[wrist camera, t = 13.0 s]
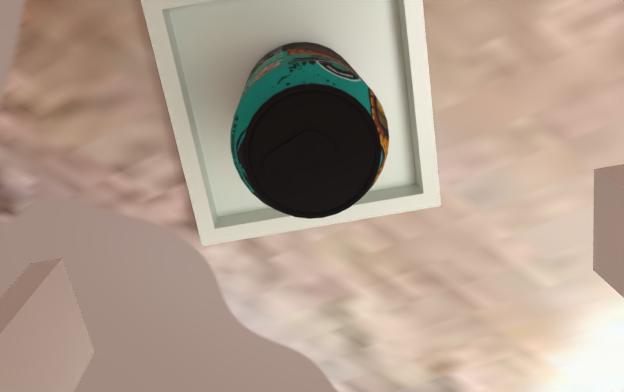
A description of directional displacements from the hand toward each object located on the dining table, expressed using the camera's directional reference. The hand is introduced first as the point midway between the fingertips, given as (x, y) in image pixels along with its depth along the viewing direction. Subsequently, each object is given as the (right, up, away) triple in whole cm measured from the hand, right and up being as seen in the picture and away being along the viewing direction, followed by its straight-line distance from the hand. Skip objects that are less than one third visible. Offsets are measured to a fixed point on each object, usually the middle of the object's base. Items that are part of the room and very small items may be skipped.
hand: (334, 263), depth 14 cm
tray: (-1, +8, +21) cm, 23 cm away
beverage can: (-1, +7, +21) cm, 22 cm away
